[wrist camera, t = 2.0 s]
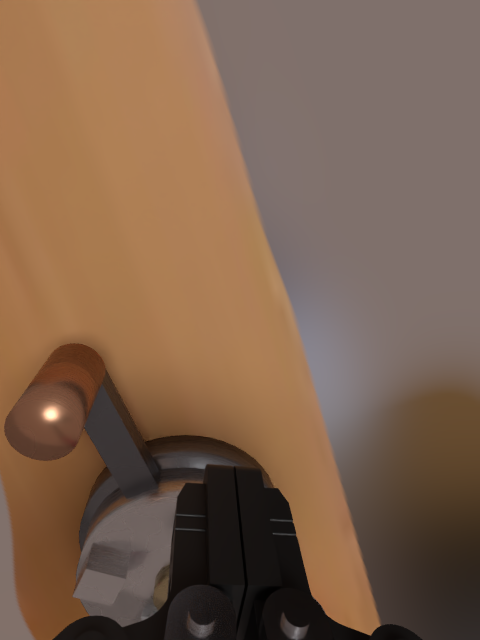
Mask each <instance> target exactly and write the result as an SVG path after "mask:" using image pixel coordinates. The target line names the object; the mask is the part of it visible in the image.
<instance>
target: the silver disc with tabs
mask: <svg viewBox="0 0 480 640" xmlns="http://www.w3.org/2000/svg"><path fill="white" fill-rule="evenodd" d="M145 444H146V446H147V448H148V449H149V451H150V453H151V455H152V457H153V459H154V461H155V463H156V464H157V466H158V468H159V470H163V469H169V468H183V467H186V468H200V469H205V467H206V464H214V465H228V466H233V467H234V466H243V467H257V468H260V469H261V472H262V477H263V483H264V488H274V487H273V484H272V482H271V480H270V478H269V476H268V474H267V473H266V471H265V470H264V469H263V467H262V466H261V465H260V464H259V463H258V462H257V461H256V460H255V459H254V458H252V457H251V456H250V455H248V454H247V453H246V452H244V451H242V450H241V449H239V448H237V447H235V446H233V445H231V444H228V443H226V442H223V441H220V440H216V439H213V438H207V437H201V436H187V435H184V436H170V437H164V438H158V439H155V440H151V441H148V442H145ZM117 488H119V486H118V484H117V482H116V481H115V479H114V477H113V476H112V474H111V472H110V470H109V469H108V467H106V468H105V469H104V470H103V471H102V472H101V474H100V475H99V476H98V478H97V480H96V481H95V483H94V485H93V487H92V490H91V493H90V495H89V498H88V502H87V505H86V508H85V511H84V514H83V517H82V521H81V525H80V531H79V543H80V548H81V552H82V549H83V546H84V542H85V539H86V535H87V532H88V528H89V525H90V522H91V520H92V517H93V515H94V514H95V512H96V510H97V508H98V507H99V506H100V504H101V503H102V502H103V501H104V499H105V498H107V497H108V496H109V495H110V494H111V493H112V492H113V491H114V490H116V489H117Z"/></svg>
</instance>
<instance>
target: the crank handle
mask: <svg viewBox="0 0 480 640" xmlns="http://www.w3.org/2000/svg"><path fill="white" fill-rule="evenodd" d="M83 428H85V430H86V431H87V433H88V435H89V437H90V438H91V440H92V442H93V443H94V445H95V447H96V448H97V450H98V452H99V453H100V455H101V457H102V459H103V460H104V462H105V464H106V465H107V467H108V469H109V470H110V472H111V474H112V476H113V477H114V479H115V481H116V482H117V484H118V486H119V488H117V489H116V490H114V491H113V492H112V493H111V494H110V495H109V496H108V497H107V498H105V499H104V501H103V502H102V503H101V504H100V506H99V507H98V508H97V510H96V512H95V514H94V515H93V517H92V520H91V522H90V525H89V528H88V532H87V535H86V539H85V542H84V546H83V549H82V552H81V556H80V559H79V563H78V567H77V573H76V586H75V589H74V593H73V596H72V597H75V598H79V599H80V600H81V603H82V604H83V606H84V608H85V609H86V611H87V612H88V614H89V615H90V616H95V615H97V616H105V617H109V618H111V619H113V620H115V621H116V622H117V623H119V624H120V626H121V627H125V626H128V625H131V624H134V623H137V622H140V621H142V620H145V619H147V618H149V617H151V616H152V615H154V614H155V613H156V612H157V611H158V610H159V609H160V608H161V607H162V606H163V605H164V603H165V602H166V600H167V594H168V580H169V566H170V553H171V539H172V532H173V524H174V517H175V510H176V503H177V496H178V495H179V493H180V491H181V490H182V488H183V487H184V485H185V483H201V484H203V479H204V473H205V469H200V468H186V467H183V468H169V469H163V470H159V468H158V466H157V464H156V463H155V461H154V459H153V457H152V455H151V453H150V451H149V449H148V448H147V446H146V444H145V442H144V440H143V438H142V436H141V434H140V433H139V431H138V429H137V427H136V425H135V423H134V421H133V419H132V417H131V416H130V414H129V412H128V410H127V408H126V406H125V404H124V402H123V401H122V399H121V397H120V395H119V393H118V391H117V389H116V387H115V386H114V384H113V382H112V380H111V378H110V376H109V374H108V372H107V371H106V369H105V365H104V362H103V360H102V358H101V357H100V355H99V354H98V353H97V352H96V351H95V350H93V349H92V348H90V347H88V346H85V345H82V344H66V345H63V346H60V347H59V348H57V349H56V350H54V351H53V353H52V354H51V355H50V357H49V358H48V359H47V361H46V362H45V364H44V365H43V366H42V368H41V369H40V371H39V372H38V373H37V375H36V376H35V378H34V379H33V380H32V382H31V383H30V385H29V386H28V387H27V389H26V390H25V392H24V393H23V394H22V396H21V397H20V399H19V400H18V402H17V403H16V404H15V406H14V407H13V409H12V410H11V411H10V413H9V414H8V416H7V418H6V420H5V426H4V429H5V435H6V437H7V440H8V441H9V443H10V444H11V446H12V447H13V448H14V449H15V450H17V451H18V452H19V453H21V454H22V455H24V456H26V457H29V458H32V459H36V460H44V461H47V460H55V459H59V458H61V457H64V456H66V455H67V454H69V453H70V452H71V451H72V450H73V449H74V448H75V446H76V445H77V443H78V440H79V438H80V435H81V433H82V431H83Z"/></svg>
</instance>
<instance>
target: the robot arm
mask: <svg viewBox="0 0 480 640" xmlns="http://www.w3.org/2000/svg"><path fill="white" fill-rule="evenodd" d="M53 640H422V639H421V638H420V637H418V636H417V635H416V634H415V633H413V632H412V631H410V630H408V629H406V628H404V627H401V626H398V625H393V624H387V625H382V626H380V627H378V628H377V629H376V630H375V631H374V632H373V633H372V635H371V636H370V635H367V634H365V633H362V632H359V631H356V630H354V629H351V628H348V627H346V626H343V625H341V624H339V623H337V622H335V621H334V620H332V619H331V618H330V617H328V616H327V615H326V614H325V611H324V610H323V608H322V606H321V605H320V604H319V603H318V602H317V601H316V600H315V599H314V598H313V597H312V595H311V592H310V588H309V584H308V580H307V576H306V572H305V568H304V564H303V560H302V556H301V551H300V547H299V543H298V539H297V537H296V531H295V527H294V523H293V519H292V514H291V510H290V506H289V503H288V502H287V500H286V499H285V497H284V496H283V495H282V493H281V492H280V491H279V489H278V488H264V483H263V477H262V472H261V469H260V468H257V467H243V466H234V467H233V466H228V465H214V464H206V467H205V473H204V479H203V484H201V483H185V485H184V487H183V488H182V490H181V491H180V493H179V495H178V496H177V503H176V510H175V517H174V524H173V532H172V539H171V553H170V566H169V580H168V594H167V600H166V602H165V603H164V605H163V606H162V607H161V608H160V609H159V610H158V611H157V612H156V613H155V614H154V615H152V616H151V617H149V618H147V619H145V620H142V621H140V622H137V623H134V624H131V625H128V626H125V627H121V626H120V624H119V623H117V622H116V621H115V620H113V619H111V618H109V617H105V616H97V615H95V616H88V617H84V618H81V619H79V620H76V621H75V622H73V623H71V624H70V625H69V626H67V627H66V628H65V629H64V630H63V631H62V632H60V633H59V634H58V635H57V636H56V637H55V638H54V639H53Z"/></svg>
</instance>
